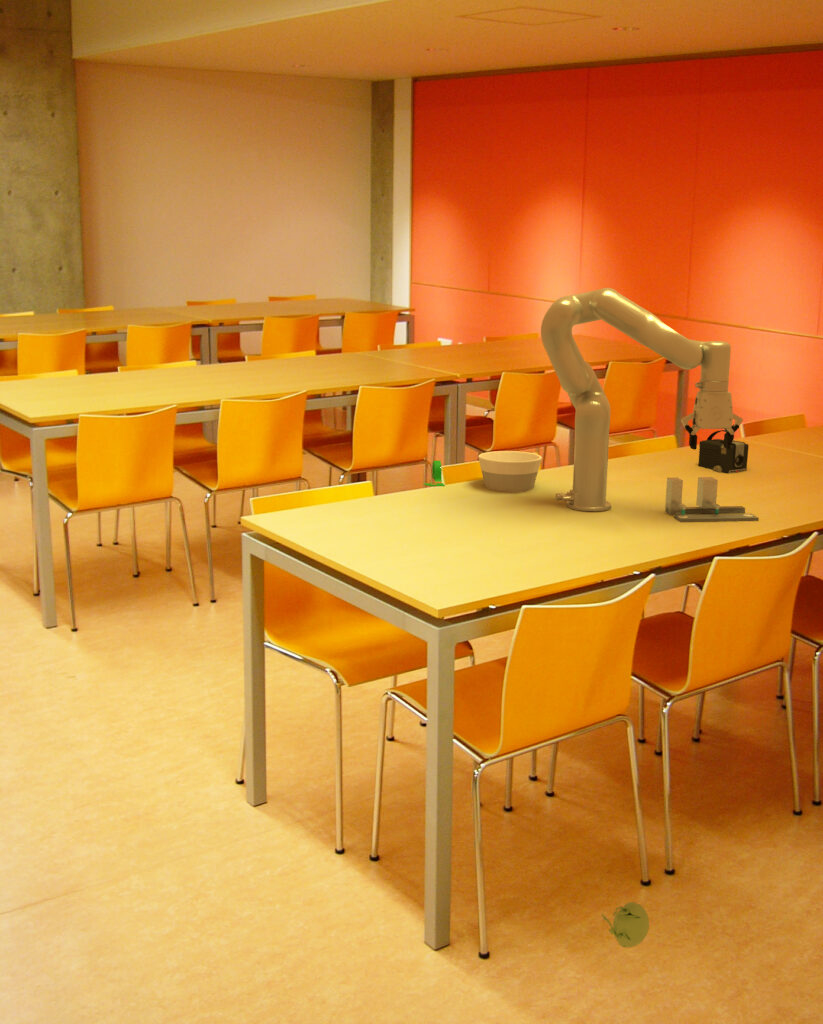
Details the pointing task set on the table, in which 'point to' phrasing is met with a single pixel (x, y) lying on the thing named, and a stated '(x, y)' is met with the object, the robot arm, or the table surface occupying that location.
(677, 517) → the gauge plate
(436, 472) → the mechanical part
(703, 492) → the sliding leg
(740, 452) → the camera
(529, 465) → the bowl
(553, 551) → the table surface
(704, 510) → the rail with fixed leg
